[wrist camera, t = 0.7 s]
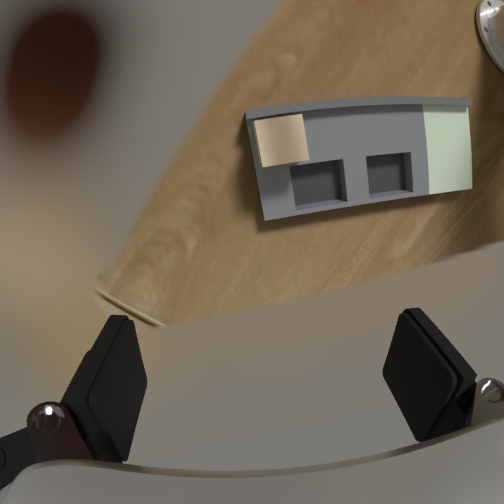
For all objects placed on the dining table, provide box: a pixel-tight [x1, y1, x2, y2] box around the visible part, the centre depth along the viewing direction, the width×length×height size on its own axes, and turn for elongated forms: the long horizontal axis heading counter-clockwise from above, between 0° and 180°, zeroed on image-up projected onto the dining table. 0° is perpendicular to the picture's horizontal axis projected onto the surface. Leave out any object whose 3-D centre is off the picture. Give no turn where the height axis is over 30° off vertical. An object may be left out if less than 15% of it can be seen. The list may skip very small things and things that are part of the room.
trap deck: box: [245, 97, 472, 221], centre depth 30 cm, size 26×11×3 cm, turn 100°
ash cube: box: [252, 114, 309, 167], centre depth 27 cm, size 4×4×4 cm
